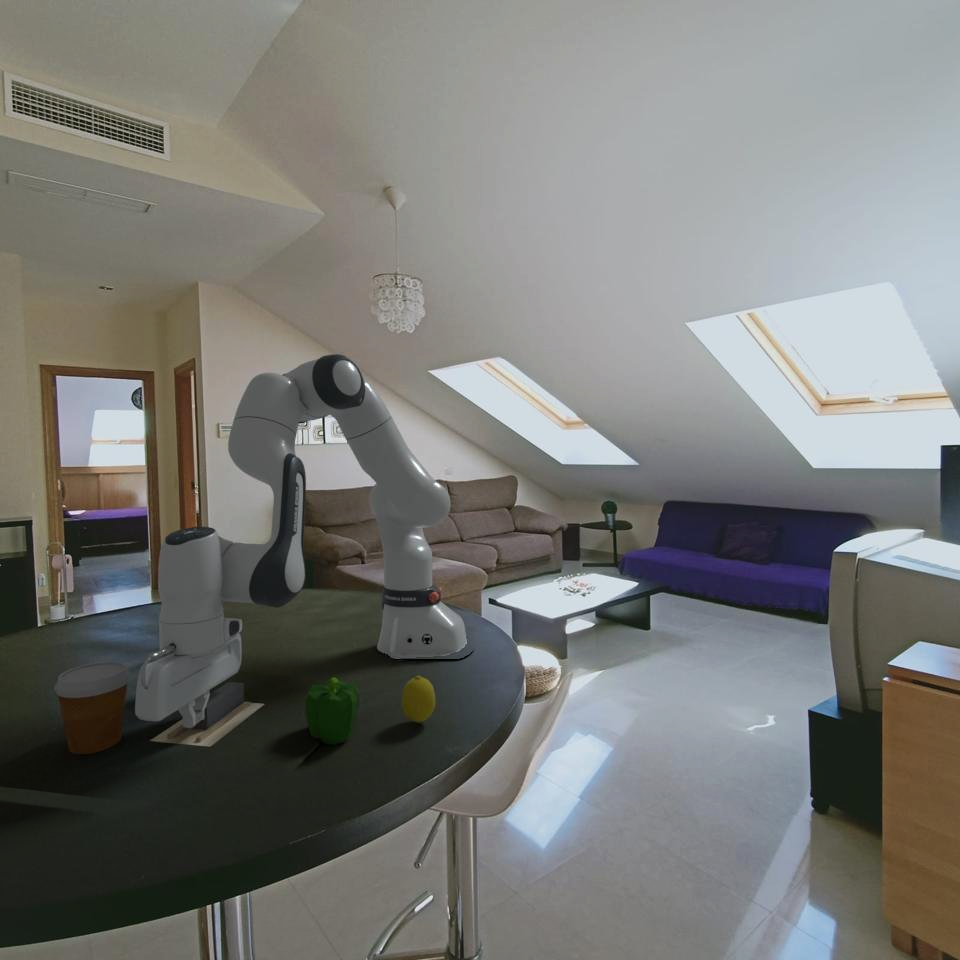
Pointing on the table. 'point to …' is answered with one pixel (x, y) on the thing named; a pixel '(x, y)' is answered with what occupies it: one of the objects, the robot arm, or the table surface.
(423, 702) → the lemon
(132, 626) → the table surface
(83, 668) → the disposable coffee cup
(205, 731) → the board
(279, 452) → the robot arm
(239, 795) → the table surface
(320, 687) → the bell pepper
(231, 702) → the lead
